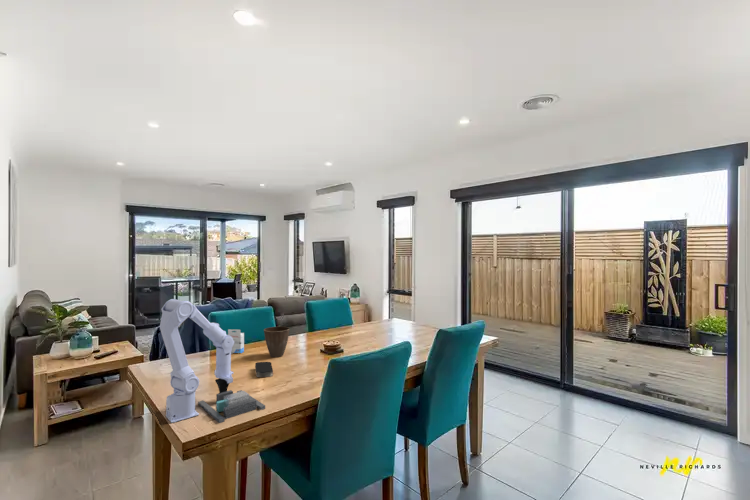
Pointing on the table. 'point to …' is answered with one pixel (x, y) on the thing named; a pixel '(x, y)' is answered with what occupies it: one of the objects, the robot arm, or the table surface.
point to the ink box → (237, 340)
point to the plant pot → (276, 340)
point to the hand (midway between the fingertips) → (223, 395)
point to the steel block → (235, 398)
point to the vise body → (232, 409)
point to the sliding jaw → (221, 400)
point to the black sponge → (263, 369)
